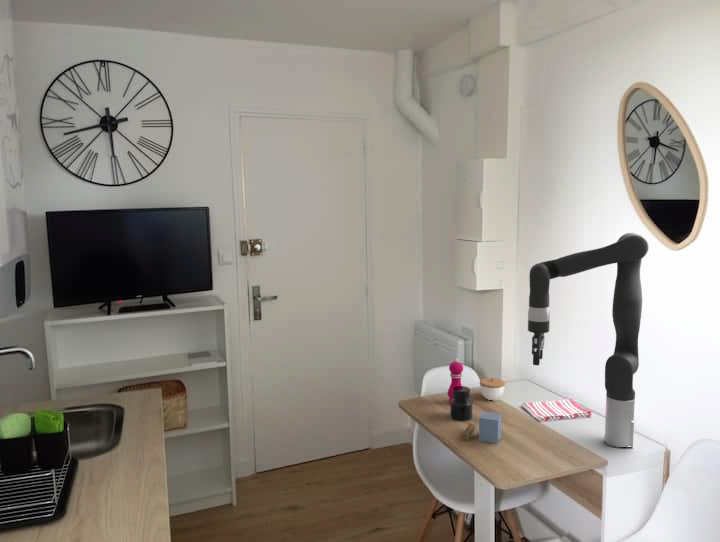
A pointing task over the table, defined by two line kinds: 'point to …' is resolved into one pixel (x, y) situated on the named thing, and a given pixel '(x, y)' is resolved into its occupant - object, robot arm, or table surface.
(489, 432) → the blue gray block
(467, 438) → the strip
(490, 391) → the lidded jar
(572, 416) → the dish towel
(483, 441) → the gray ellipsoid
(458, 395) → the ink bottle
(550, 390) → the table surface
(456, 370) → the pepper mill
